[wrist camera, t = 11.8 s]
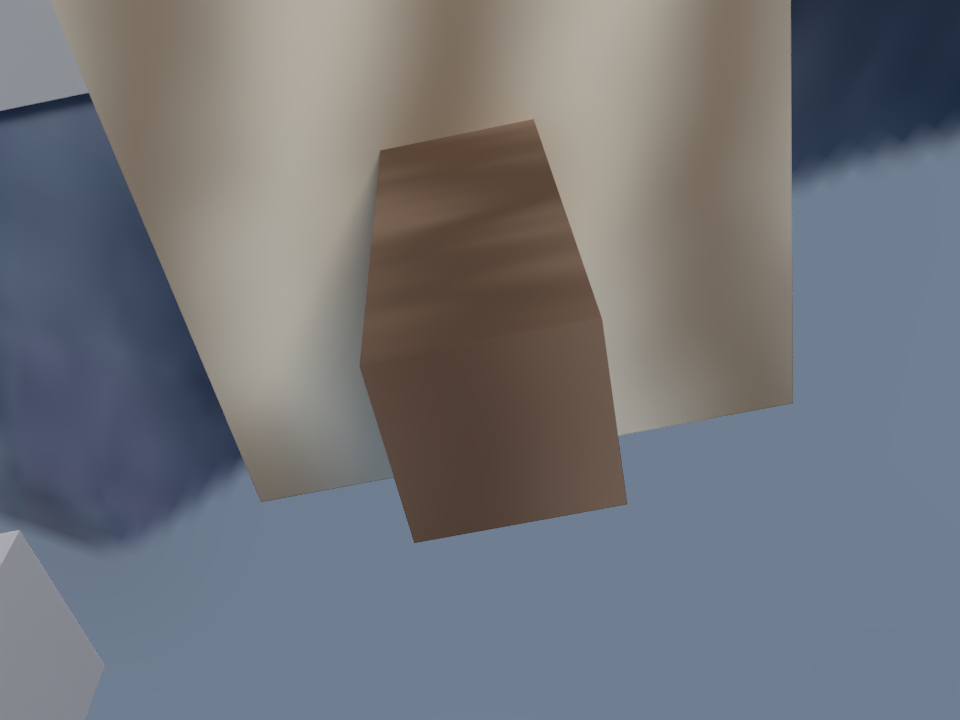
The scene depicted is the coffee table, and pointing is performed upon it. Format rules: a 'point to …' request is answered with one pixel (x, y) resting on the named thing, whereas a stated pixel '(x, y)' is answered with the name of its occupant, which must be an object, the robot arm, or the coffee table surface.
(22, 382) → the coffee table surface
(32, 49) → the mat
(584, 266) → the board
